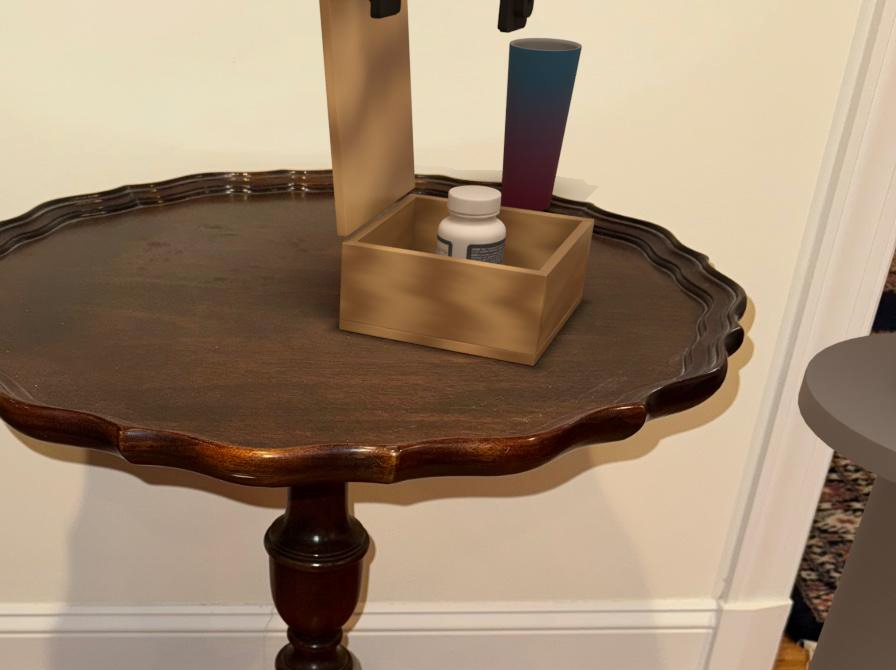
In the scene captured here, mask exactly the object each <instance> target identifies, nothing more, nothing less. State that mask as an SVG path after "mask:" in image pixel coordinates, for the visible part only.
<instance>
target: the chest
mask: <svg viewBox="0 0 896 670" xmlns="http://www.w3.org/2000/svg"><path fill="white" fill-rule="evenodd" d="M447 202H448V197H439V196H431V195H426V194H425V195H424V194H417V193H409V194H408V195H407V196H405V197H404V198H403V199H401V200H400V201H397V203H396V204H393V206H392V207H390V208H388V209H387V210H386V211H384V212H383V213H382V214H380V215H379V216H377V217H376V218H375V219H373V220H372V221H370V222H369V223H368V224H366V225H365V226H364V227H362V228H361V229H360V230H358V231H357V232H356V233H354V234H353V235H352V236H350V237H348V238H347V239H346V240H343V242H342V243H341V264H340V265H341V266H340V293H339V294H340V296H339V321H338V329H339V330H340V331H346V332H350V333H357V334H362V335H368V336H372V337H376V338H383V339H388V340H392V341H393V340H394V341H398V342H403V343H409V344H415V345H421V346H425V347H430V348H435V349H441V350H446V351H451V352H456V353H462V354H467V355H473V356H478V357H482V358H488V359H493V360H499V361H505V362H509V363H514V364H519V365H520V364H521V365H525V366H531V367H534V366H535V365H536V364H537V362H538V361H539V360H540V358H541V357H542V355H543V354H544V352H545V351H546V350H547V349H548V348H549V346H550V345H551V343H552V342H553V340H554V339H555V338H556V336H557V335H558V334H559V332H560V331H561V330H562V328H563V327H564V325H565V324H566V323H567V322H568V320H569V319H570V318H571V316H572V315H573V313H574V312H575V310H576V309H577V308H578V306H579V305H581V302H582V299H583V293H584V287H585V281H586V273H587V268H588V261H589V256H590V251H591V250H590V249H591V243H592V237H593V231H594V227H595V226H594V224H595V219H594V218H588V217H581V216H574V215H568V214H567V215H566V214H561V213H553V212H546V211H532V210H525V209H518V208H511V207H504V206H502V205H500V212H499V214H498V215H496V218H497V219H499V220H500V221H501V222H502V223H503V224H504V226H505V228H506V239H505V248H504V257H503V265H500V264H493V263H487V262H481V261H475V260H468V259H462V258H456V257H449V256H443V255H437V254H436V244H437V232H438V227H439V224H440V223H441V221H442V220H443V219H445V218H446V217H448V216H450V213H449V212H448V207H447Z"/></svg>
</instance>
